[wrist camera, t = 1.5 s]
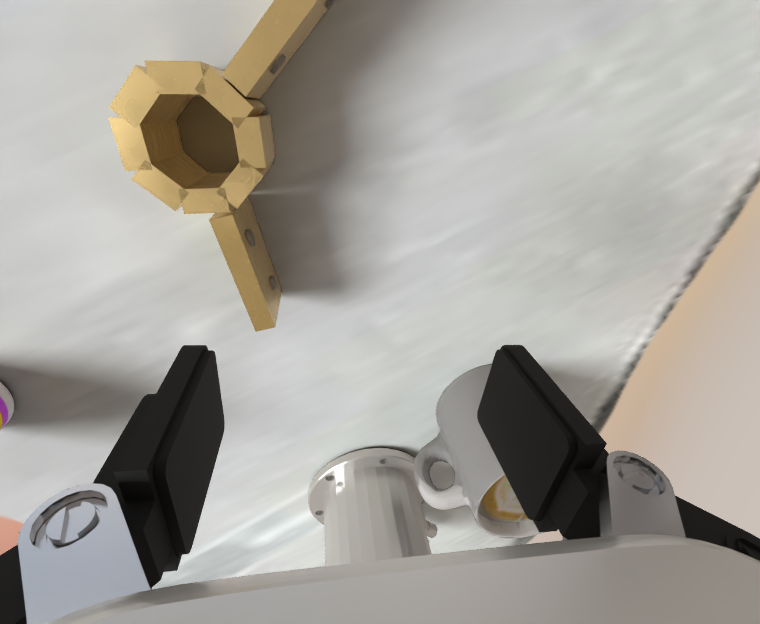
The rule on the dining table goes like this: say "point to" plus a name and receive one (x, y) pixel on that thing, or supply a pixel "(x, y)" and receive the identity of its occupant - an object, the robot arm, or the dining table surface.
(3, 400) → the supplement bottle
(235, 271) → the wooden hinge leaf
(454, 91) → the dining table surface
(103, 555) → the robot arm
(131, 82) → the hinge base
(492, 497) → the coffee mug
